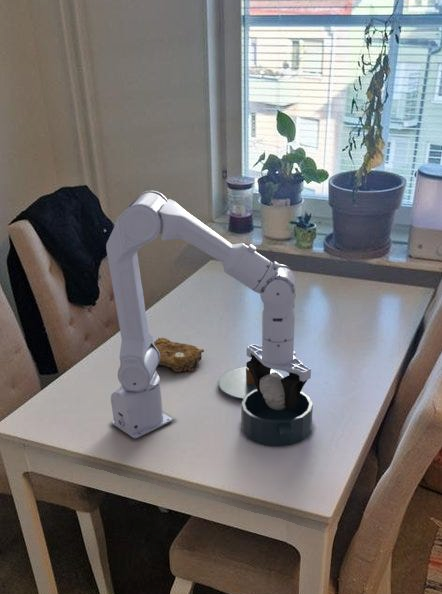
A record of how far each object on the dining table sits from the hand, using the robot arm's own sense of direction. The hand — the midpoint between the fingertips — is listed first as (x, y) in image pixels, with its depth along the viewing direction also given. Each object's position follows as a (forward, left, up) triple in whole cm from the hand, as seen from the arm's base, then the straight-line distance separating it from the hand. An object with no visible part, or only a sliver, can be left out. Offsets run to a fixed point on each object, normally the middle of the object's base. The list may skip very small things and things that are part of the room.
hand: (276, 400), depth 128 cm
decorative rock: (+3, +37, -6) cm, 38 cm away
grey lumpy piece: (0, 0, -2) cm, 2 cm away
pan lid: (+8, +15, -6) cm, 18 cm away
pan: (0, 0, -6) cm, 6 cm away
